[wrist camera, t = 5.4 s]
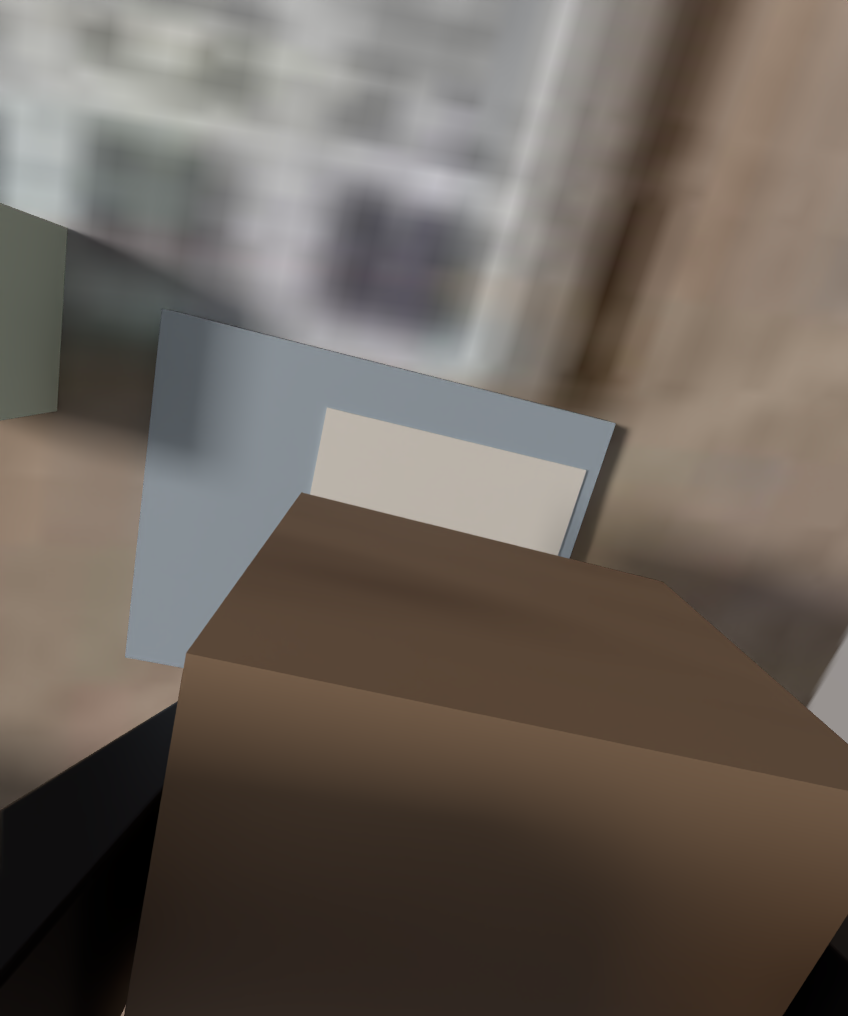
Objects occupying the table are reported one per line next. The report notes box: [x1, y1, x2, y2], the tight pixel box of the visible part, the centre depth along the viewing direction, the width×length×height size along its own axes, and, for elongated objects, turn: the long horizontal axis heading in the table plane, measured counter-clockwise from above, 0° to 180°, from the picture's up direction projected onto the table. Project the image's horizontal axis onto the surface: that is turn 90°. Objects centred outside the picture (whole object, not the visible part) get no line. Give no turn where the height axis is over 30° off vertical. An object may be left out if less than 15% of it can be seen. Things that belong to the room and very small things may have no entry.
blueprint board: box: [125, 309, 616, 668], centre depth 15 cm, size 10×12×1 cm
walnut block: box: [124, 492, 848, 1016], centre depth 7 cm, size 6×6×4 cm
